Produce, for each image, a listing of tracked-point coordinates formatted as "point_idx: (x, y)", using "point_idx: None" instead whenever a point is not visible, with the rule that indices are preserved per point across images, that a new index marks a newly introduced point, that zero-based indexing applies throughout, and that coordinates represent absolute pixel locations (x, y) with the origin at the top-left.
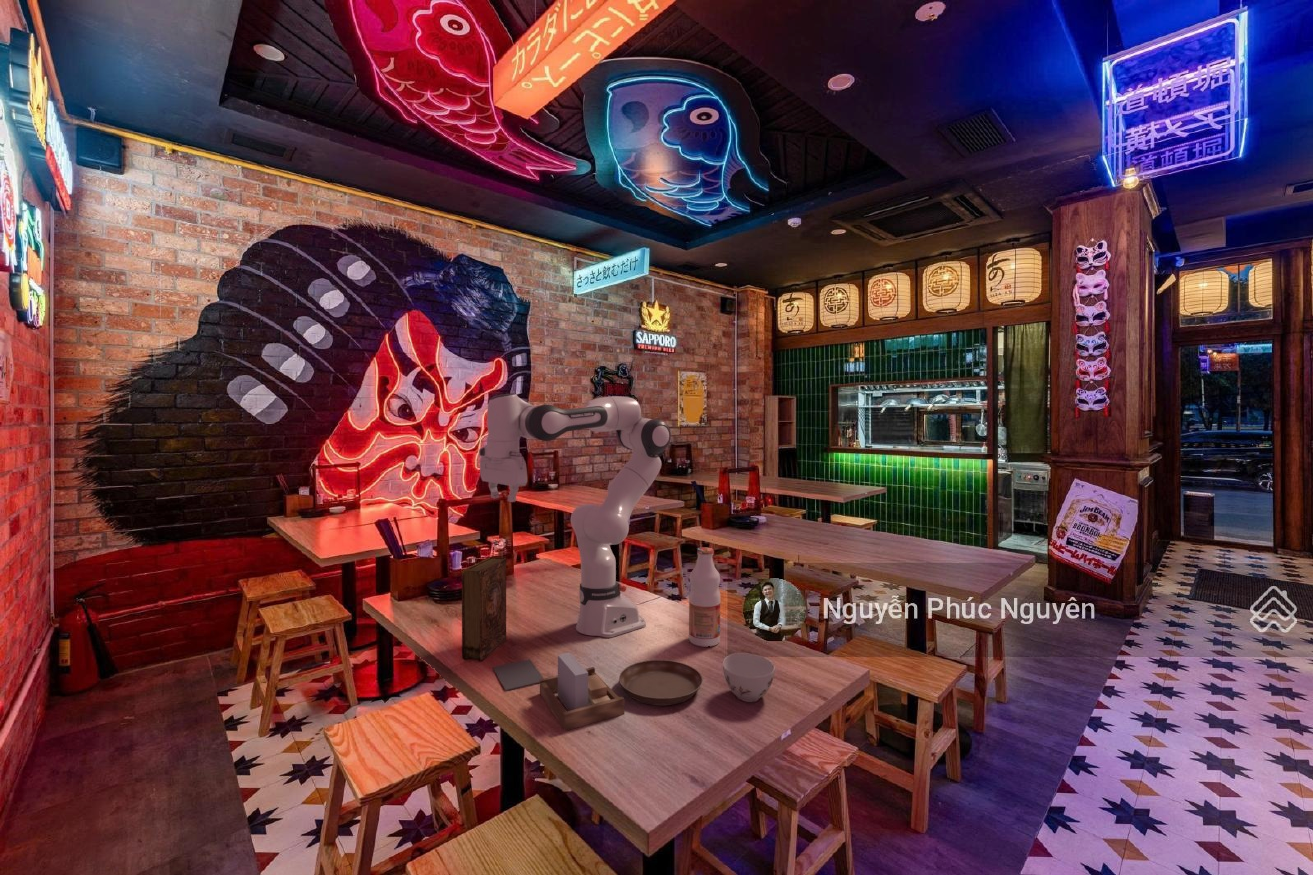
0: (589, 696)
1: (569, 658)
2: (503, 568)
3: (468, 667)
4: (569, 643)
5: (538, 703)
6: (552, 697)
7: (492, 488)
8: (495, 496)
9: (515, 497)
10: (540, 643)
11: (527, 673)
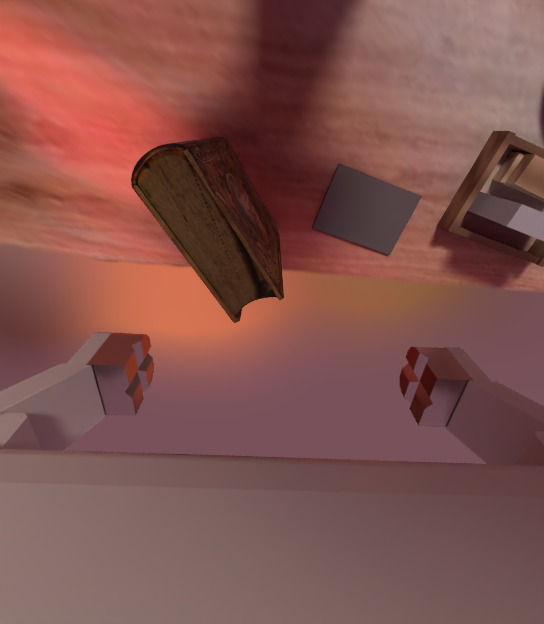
0: (538, 198)
1: (535, 221)
2: (206, 166)
3: None
4: (342, 33)
5: (453, 242)
6: (494, 246)
7: (63, 432)
8: (146, 368)
9: (474, 369)
10: (290, 89)
11: (378, 201)
